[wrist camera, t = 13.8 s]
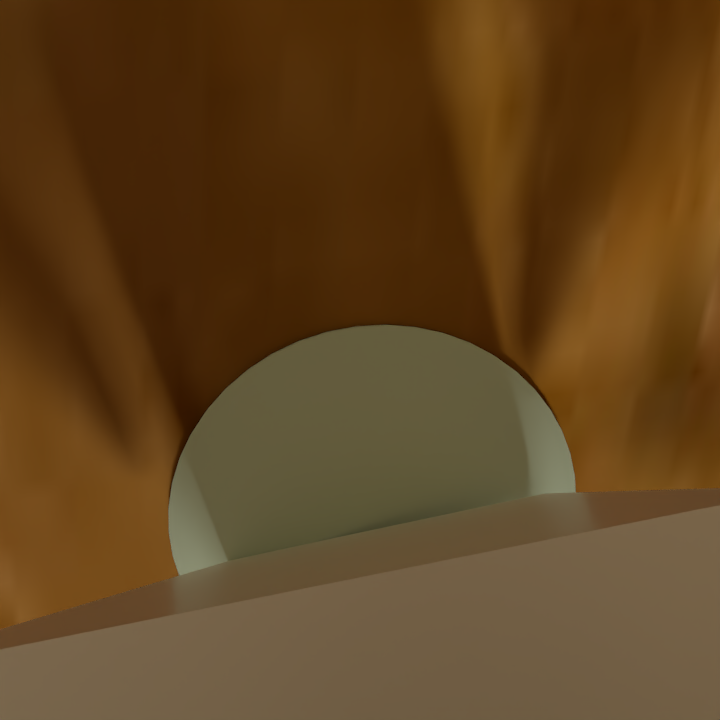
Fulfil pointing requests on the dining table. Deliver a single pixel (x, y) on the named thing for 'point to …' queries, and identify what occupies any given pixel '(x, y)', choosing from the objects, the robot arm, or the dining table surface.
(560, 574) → the white block
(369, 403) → the disc
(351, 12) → the dining table surface
